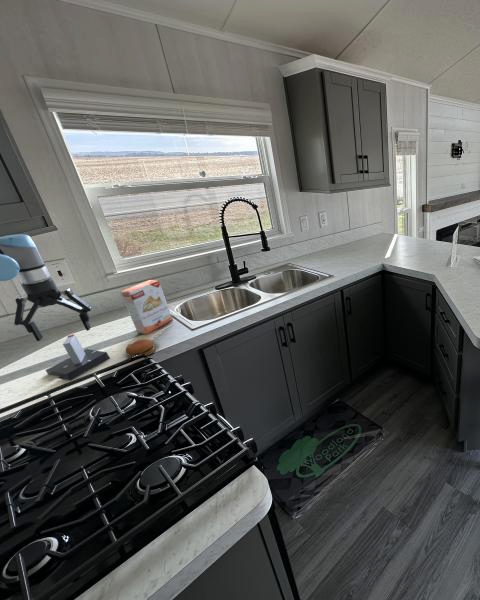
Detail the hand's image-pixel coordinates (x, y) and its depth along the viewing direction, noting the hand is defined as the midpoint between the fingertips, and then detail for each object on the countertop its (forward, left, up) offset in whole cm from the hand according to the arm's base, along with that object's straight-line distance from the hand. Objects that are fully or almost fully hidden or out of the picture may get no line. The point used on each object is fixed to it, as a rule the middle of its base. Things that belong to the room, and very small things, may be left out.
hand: (65, 334), depth 120 cm
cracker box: (+31, 0, -15) cm, 34 cm away
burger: (+12, -15, -15) cm, 24 cm away
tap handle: (0, 0, -11) cm, 11 cm away
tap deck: (-1, 0, -14) cm, 14 cm away
